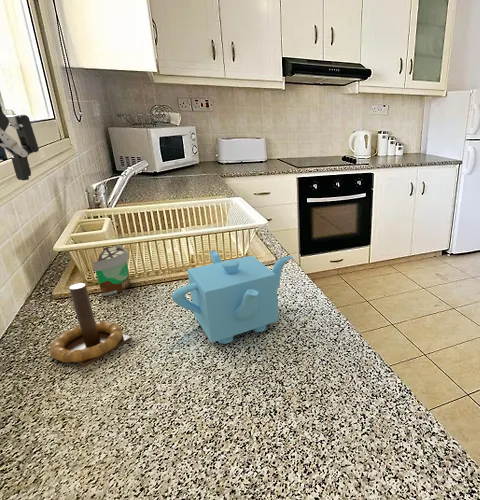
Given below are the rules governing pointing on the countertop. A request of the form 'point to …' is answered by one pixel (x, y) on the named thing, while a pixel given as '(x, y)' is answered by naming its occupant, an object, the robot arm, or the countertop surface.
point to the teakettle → (232, 296)
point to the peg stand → (88, 324)
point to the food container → (112, 270)
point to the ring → (88, 353)
